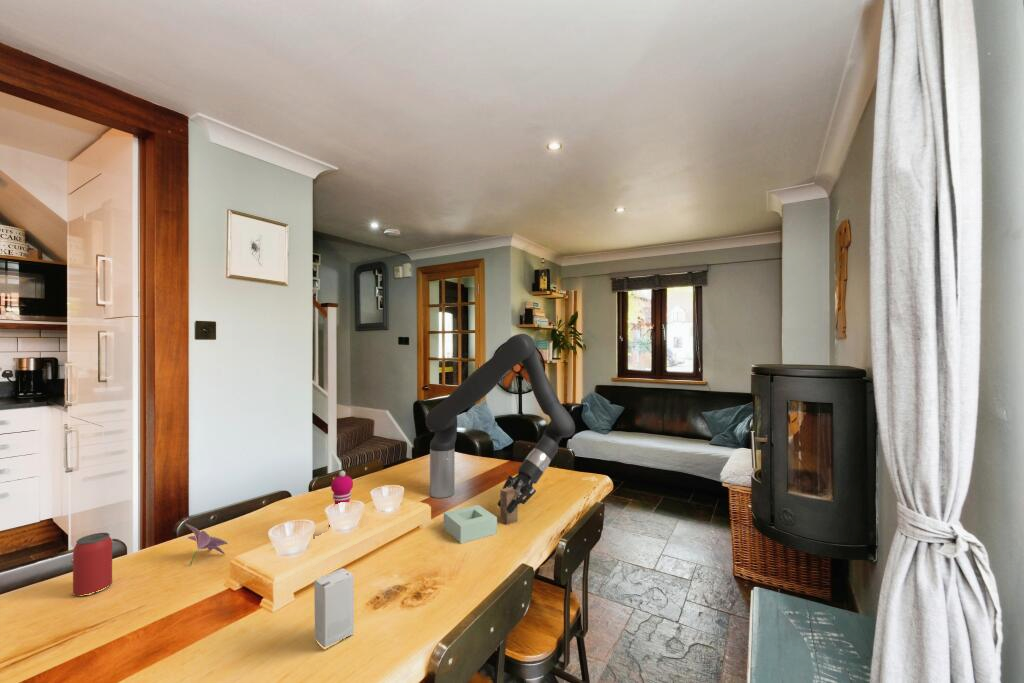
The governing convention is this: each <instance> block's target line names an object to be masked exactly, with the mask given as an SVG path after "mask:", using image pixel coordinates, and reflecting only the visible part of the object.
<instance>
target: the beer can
mask: <svg viewBox="0 0 1024 683" xmlns="http://www.w3.org/2000/svg"><path fill="white" fill-rule="evenodd" d="M110 535H111V534H110V533H109V532H97V533H93V534H89V535H85V536H82V537H81V538H79V539H77V540H76V542H75V543H76V544H75V545H74V548H73V551H72V552H73V553H72V594H73V595H74V594H75V595H74V596H76V595H84V594H89V593H92V592H96V591H98V590H101V589H103V588H105V587H107V586H108V585H110V584H111V585H112V583H113V540H112V538H111V536H110ZM111 585H110V586H111ZM107 588H108V587H107Z"/></svg>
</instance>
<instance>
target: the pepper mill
mask: <svg viewBox="0 0 1024 683" xmlns="http://www.w3.org/2000/svg"><path fill="white" fill-rule="evenodd" d="M353 488H354V481H353V478H352V477H350V476H349V475H346V471H344V470H341V471H339V473H338V476H336V477H334V479H333V480H332V481H331V484H330V490H331V491H332V499H333V501H334V505H335V504H338V503H340V502H351V501H350V500H351V498H352V489H353ZM329 527H330V525H329V524H328V528H329Z"/></svg>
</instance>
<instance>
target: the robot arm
mask: <svg viewBox="0 0 1024 683" xmlns="http://www.w3.org/2000/svg"><path fill="white" fill-rule="evenodd" d="M520 363H521V364H522V365H523V367H524V369H525V371H526V373H527V376H528V379H529V382H530V386H531V389H532V393H533V394H534V398H535V400H536V402H537V403H538V405H539V407H540V409H541V411H542V412H543V413H542V414H544V415H546V416H548V418H550V422H549V423H548V424H547V425H546V427H545V429H544V431H543V434H542V437H541V438H540V439H539V440H538V442H537V443H536V445H535V446H534V447H533V449H532V450H531V451H530V452H529V453H528V455H527V456H526V457H525V459H524V460H523V462H522V463H521V464H520V466H518V469H517V471H518V473H517V474H516V475H515V476H512V475H508V477H507V478H506V480H505V483H504V485H503V487H502V488H501V489H505V488H513V489H515V490H516V494H515V496H514V500H512V501H511V502H510V504H509V505H508V507H507V508H506V511H508V512H509V513H510V514H511V513H512V512H513V511H514V509H515V508H516V507H517V505H518V506H519V505H520V504H522V505H524V504H526V503H527V502H528V500H530V499H531V497H533V495H534V494H535V493H536V492H537V490H536V489H535V488H534V486H533V484H534V485H535V484H537V483H538V482H539V480H540V479H541V477H542V476H543V474H544V473H545V471H546V470H547V468H548V467H549V465H550V463H551V461H552V460H553V459H554V458H555V456H556V454H557V453H558V451H559V443H560V442H561V440H562V439H563V438H569V437H572V436H573V435H574V433H575V431H576V425H575V422H574V419H573V417H572V416H571V414H570V413H569V412H568V411H567V409H566V408H565V407H564V405H562V403H561V401H560V399H559V398H558V395H557V393H556V391H555V389H554V387H553V386H552V384H551V382H550V380H549V378H548V376H547V373H546V371H545V368H544V367H543V365H542V362H541V359H540V357H539V353H538V350H537V346H536V344H535V341H534V339H533V338H532V337H531V336H530V335H528V334H527V333H518V334H515V335H512V336H511V337H509V338H508V339H507V340H506V341H505V343H504V344H503V345H502V346H501V347H500V348H499V350H498V351H497V352H496V353H495V354H494V355H493V356H492V357H491V358H490V359H489V360H487V361H486V362H485V363H483V364H482V365H480V366H479V367H478V368H477V369H476V370H475V371H473V372H472V373H471V374H470V375H469V376H468V377H467V378H465V380H464V381H463V382H461V383H460V384H459V385H458V387H457V388H455V389H454V390H453V391H452V392H451V393H450V395H448V396H447V397H446V398H445V399H444V400H442V401H441V402H439V403H438V404H437V405H435V406H434V407H433V408H431V409H429V411H428V413H427V414H426V416H425V425H426V427H427V429H428V431H430V432H433V433H434V436H433V438H432V439H431V440H430V443H429V495H430V496H431V497H432V498H438V499H439V498H440V499H441V498H442V499H444V498H448V497H452V496H454V494H455V468H456V467H455V463H456V462H455V458H456V457H455V444H456V441H457V435H458V434H457V433H458V415H459V414H460V413H461V412H463V411H464V410H466V409H468V408H469V407H471V406H473V405H474V404H477V403H478V402H479V401H481V400H482V399H483V398H485V397H486V396H487V395H488V394H489V393H490V392H491V391H492V390H493V389H494V388H495V387H496V386H497V385H498V383H499V382H500V381H501V379H502V378H503V377H504V376H505V375H506V374H507V373H508V372H509V371H510V370H511V369H513V368H514V367H516V366H517V365H518V364H520ZM497 506H498V507H499V508H500V499H499V500H498V502H497Z"/></svg>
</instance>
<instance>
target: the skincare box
mask: <svg viewBox="0 0 1024 683" xmlns="http://www.w3.org/2000/svg"><path fill="white" fill-rule="evenodd" d="M313 583H314V586H313V588H314V591H313V592H314V593H313V594H314V640H315V639H316V640H317V641H318V642H319V643H320V644H321V645H322V646H323V647H327V646H329V645H331V644H333V643H335V642H337V641H340V640H341V639H343V638H344V637H347V636H349V635H351V634H353V633H355V629H354V625H355V623H354V622H355V621H354V618H355V617H354V614H355V613H354V612H355V611H354V607H355V606H354V603H355V602H354V599H355V598H354V592H355V590H354V588H355V587H354V586H355V585H354V574H353V572H350V571H348V570H347V569H345V568H340V569H337V570H336V571H333V572H330V573H328V574H326V575H324V576H320V577H318V578H316V579H315V580H314V582H313ZM353 635H354V634H353ZM351 636H352V635H351Z"/></svg>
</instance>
